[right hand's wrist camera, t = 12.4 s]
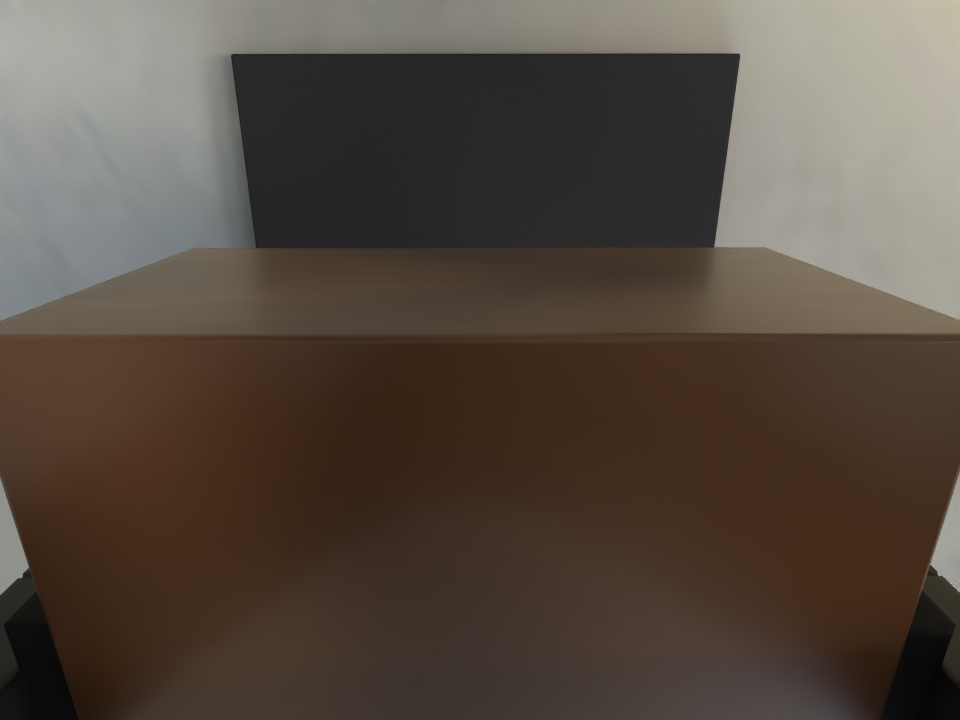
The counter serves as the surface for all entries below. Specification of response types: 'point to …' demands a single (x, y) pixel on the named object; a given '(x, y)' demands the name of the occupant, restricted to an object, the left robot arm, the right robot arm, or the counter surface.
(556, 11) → the counter surface
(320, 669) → the brown square block
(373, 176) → the coaster
